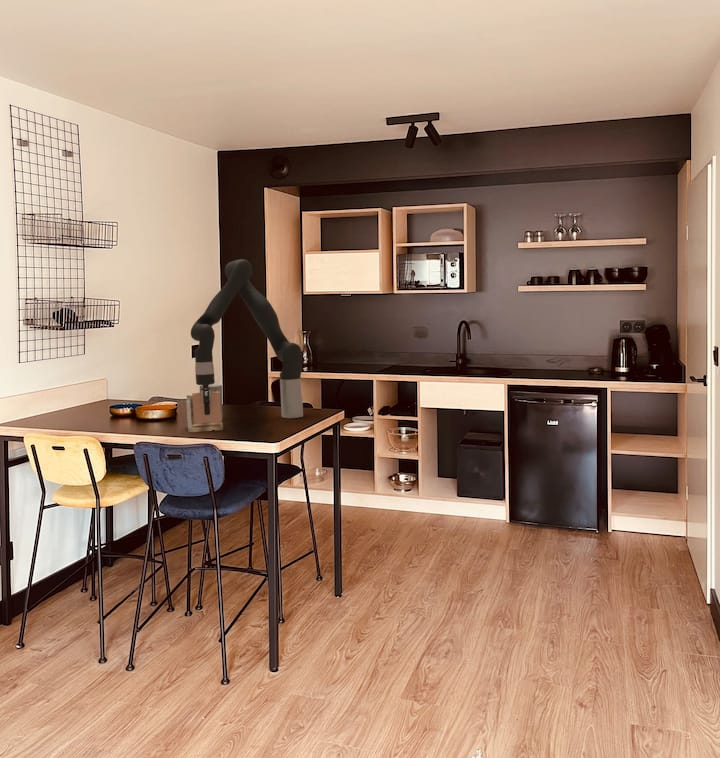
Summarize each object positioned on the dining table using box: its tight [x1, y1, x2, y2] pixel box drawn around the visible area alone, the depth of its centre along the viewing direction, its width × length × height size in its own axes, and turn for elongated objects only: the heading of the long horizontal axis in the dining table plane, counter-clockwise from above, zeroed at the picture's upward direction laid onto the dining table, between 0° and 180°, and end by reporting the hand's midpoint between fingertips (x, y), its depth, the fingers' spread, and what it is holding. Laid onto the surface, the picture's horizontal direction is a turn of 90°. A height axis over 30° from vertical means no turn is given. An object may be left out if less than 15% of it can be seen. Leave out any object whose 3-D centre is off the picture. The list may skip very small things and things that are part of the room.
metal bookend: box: [185, 397, 192, 430], centre depth 308 cm, size 2×12×11 cm, turn 12°
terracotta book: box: [191, 391, 221, 423], centre depth 307 cm, size 11×4×12 cm, turn 102°
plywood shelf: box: [186, 394, 224, 433], centre depth 310 cm, size 14×13×14 cm
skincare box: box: [199, 384, 223, 413], centre depth 330 cm, size 8×7×16 cm
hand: (207, 413), depth 308 cm, fingers closed on terracotta book, 4 cm apart
